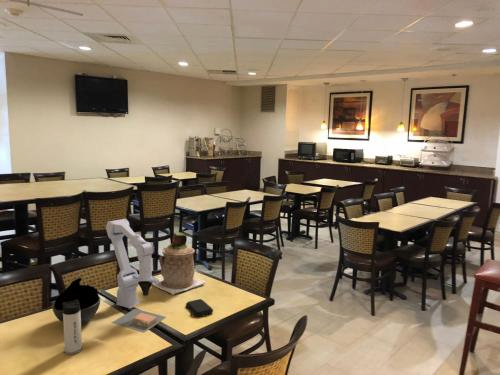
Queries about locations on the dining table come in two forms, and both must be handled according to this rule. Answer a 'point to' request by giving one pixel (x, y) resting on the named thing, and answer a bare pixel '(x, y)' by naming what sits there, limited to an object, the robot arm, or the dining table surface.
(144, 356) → the dining table surface
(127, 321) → the mat
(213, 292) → the dining table surface
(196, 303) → the carrying case or bag
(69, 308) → the travel mug
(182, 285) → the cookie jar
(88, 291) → the bowl of black rocks
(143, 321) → the brown wooden block
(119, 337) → the dining table surface
